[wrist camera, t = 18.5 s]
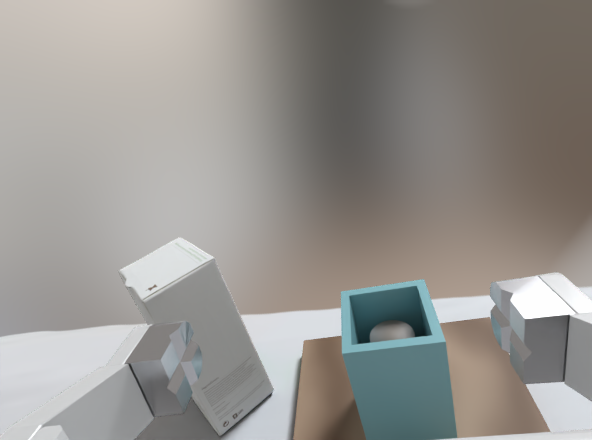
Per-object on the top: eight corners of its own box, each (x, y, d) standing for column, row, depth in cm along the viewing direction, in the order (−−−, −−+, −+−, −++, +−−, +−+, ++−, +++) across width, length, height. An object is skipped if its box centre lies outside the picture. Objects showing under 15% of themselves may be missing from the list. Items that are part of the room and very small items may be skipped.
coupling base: (286, 573, 23) (237, 484, 19) (307, 351, 39) (282, 278, 35) (616, 574, 19) (639, 465, 15) (490, 329, 35) (485, 245, 31)
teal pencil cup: (370, 454, 26) (341, 353, 22) (365, 384, 32) (341, 291, 28) (458, 449, 25) (445, 341, 21) (437, 376, 31) (423, 279, 26)
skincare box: (276, 392, 35) (220, 256, 29) (216, 443, 32) (138, 303, 26) (235, 351, 42) (182, 232, 35) (182, 389, 39) (113, 267, 32)
